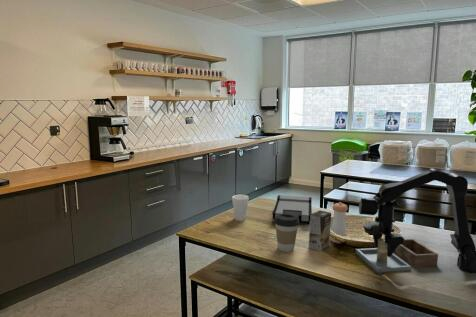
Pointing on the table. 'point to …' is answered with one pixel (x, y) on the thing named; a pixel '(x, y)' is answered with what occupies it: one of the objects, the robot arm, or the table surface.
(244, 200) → the foam cup
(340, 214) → the pepper shaker
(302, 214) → the office tray
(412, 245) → the pin trough
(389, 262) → the tray
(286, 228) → the coffee cup
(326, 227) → the coffee box
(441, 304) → the table surface
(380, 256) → the dowel pin
